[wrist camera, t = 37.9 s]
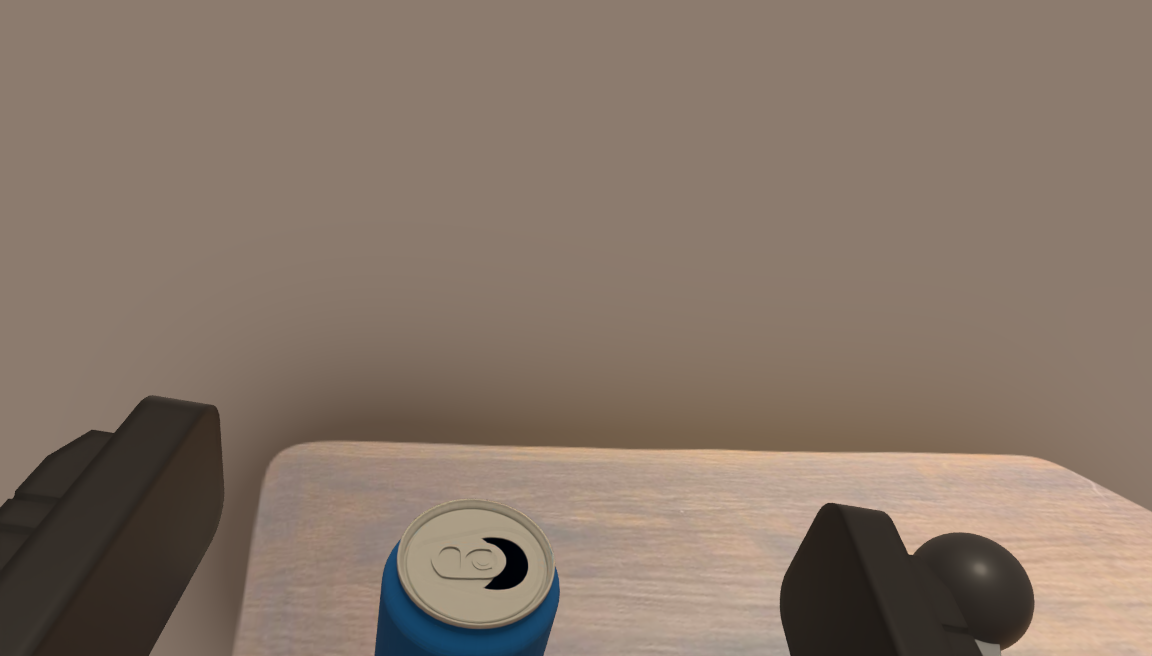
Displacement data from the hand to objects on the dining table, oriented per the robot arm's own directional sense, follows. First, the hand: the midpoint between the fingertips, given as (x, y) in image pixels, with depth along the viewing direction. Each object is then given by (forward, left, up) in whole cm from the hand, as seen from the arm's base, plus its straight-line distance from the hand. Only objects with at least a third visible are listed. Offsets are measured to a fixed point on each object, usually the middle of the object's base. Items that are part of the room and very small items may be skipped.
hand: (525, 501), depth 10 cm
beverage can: (+3, +10, -26) cm, 28 cm away
